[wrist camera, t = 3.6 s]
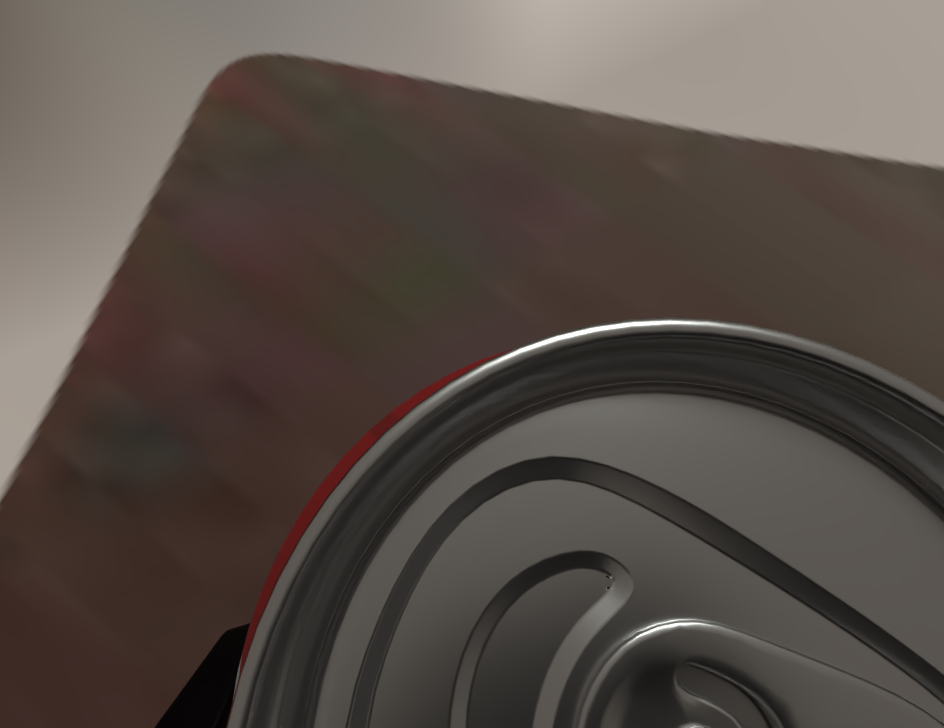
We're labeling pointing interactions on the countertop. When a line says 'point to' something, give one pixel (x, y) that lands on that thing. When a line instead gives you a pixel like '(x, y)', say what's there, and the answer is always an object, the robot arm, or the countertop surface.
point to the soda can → (620, 546)
